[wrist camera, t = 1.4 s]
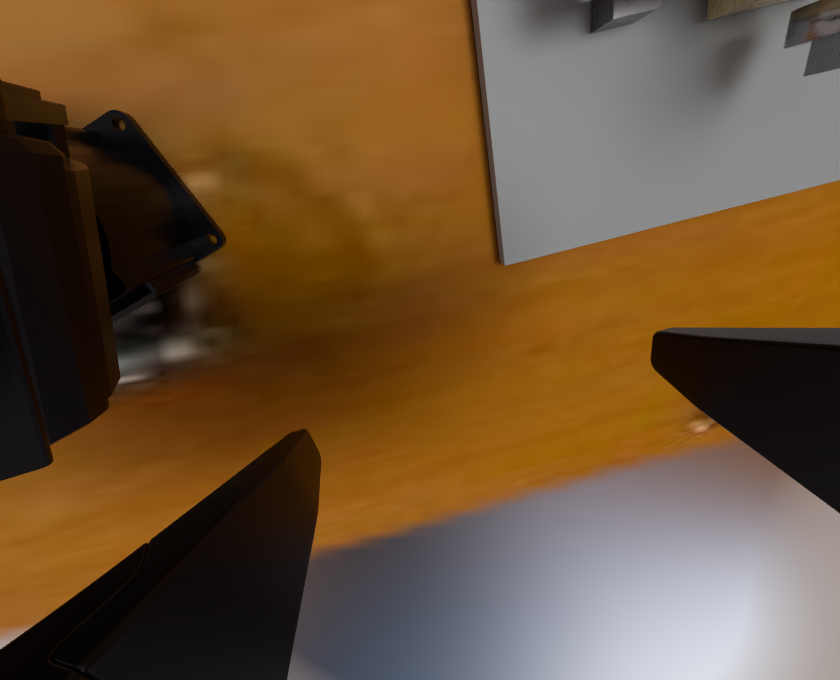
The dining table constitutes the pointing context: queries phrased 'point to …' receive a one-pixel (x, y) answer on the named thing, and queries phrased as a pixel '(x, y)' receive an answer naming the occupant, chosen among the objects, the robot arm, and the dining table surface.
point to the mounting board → (643, 118)
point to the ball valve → (628, 3)
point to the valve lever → (817, 34)
